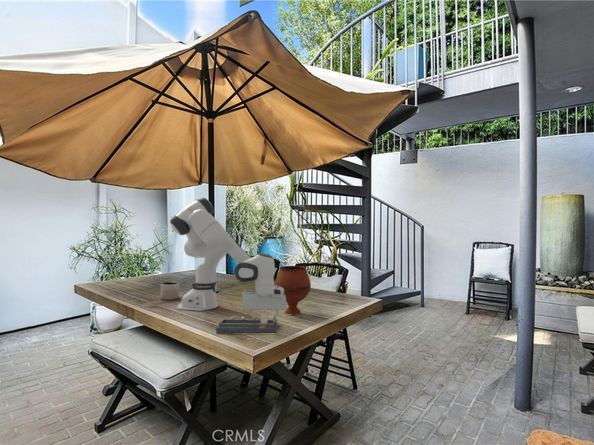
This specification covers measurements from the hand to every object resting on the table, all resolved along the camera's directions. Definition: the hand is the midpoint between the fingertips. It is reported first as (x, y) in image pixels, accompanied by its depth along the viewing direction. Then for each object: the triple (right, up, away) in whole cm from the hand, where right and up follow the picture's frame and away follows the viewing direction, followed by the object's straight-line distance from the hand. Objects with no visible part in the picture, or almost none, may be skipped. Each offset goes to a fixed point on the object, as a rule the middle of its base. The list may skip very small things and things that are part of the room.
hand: (264, 319), depth 154 cm
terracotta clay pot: (+12, -5, +27) cm, 30 cm away
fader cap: (0, -2, 0) cm, 2 cm away
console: (-8, -4, 0) cm, 9 cm away
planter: (-66, -4, +59) cm, 88 cm away
